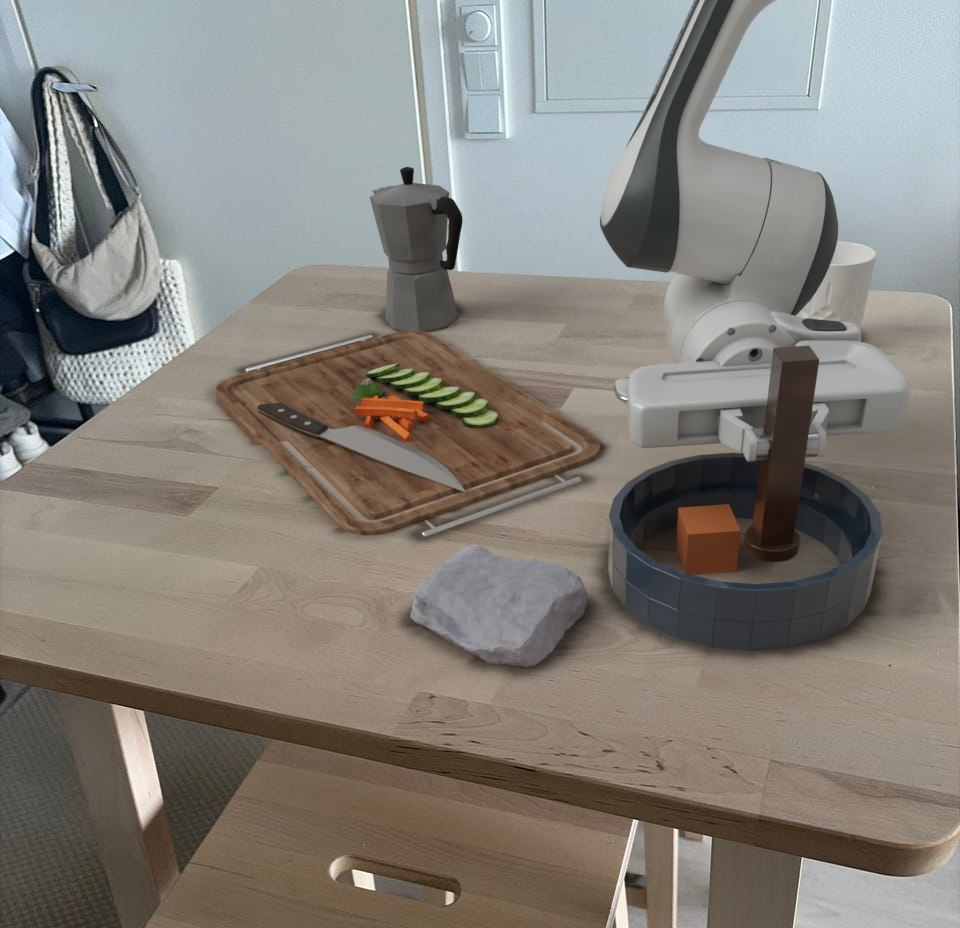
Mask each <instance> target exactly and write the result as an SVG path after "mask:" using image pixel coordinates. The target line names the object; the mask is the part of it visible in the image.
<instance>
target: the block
mask: <svg viewBox="0 0 960 928" xmlns="http://www.w3.org/2000/svg"><path fill="white" fill-rule="evenodd" d="M741 531H742V530H741V528H740V525H739V523H738V520H737V518H735V516H734V514H733V512H732V510H731V507H730V505H729V504H724V505H710V506H696V507H682V508H678V523H677V525H676V539H675V540H676V543H675V549H676V553H677V556H678V559H679V561H680V564H681V565H680V566H681V567H682V570H683V571H682V572H683V573H685V574H690V575H694V576H698V575H709V574H710V575H711V574H723V573H724V574H725V573H736V572H737V570H738V560H739V551H740V542H741Z"/></svg>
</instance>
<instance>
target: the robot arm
mask: <svg viewBox="0 0 960 928" xmlns="http://www.w3.org/2000/svg"><path fill="white" fill-rule="evenodd" d="M776 1H777V0H693V3H692V4H691V7H690V9H689V11H688V13H687V14H686V15H687V16H686V17H685V20H684V22H683V24H682V27H681V29H680V31H679V33H678V36H677V38H676V40H675V42H674V45H673V47H672V49H671V51H670V53H669V56H668V58H667V60H666V62H665V64H664V66H663V69H662V72H661V73H660V75H659V77H658V80H657V83H656V84H655V87H654V88H653V91H652V93H651V96H650V97H649V100H648V103H646V106H645V108H644V110H643V113H642V115H641V116H640V119H639V121H638V122H637V125H636V127H635V129H634V131H633V133H632V134H631V136H630V138H629V140H628V142H627V144H626V146H625V148H624V150H623V151H622V153H621V155H620V156H619V158H618V159H617V161H616V163H615V165H614V166H613V169H612V171H611V173H610V175H609V176H608V177H609V178H608V180H607V182H606V185H605V188H604V191H603V195H602V200H601V205H600V217H599V227H600V230H601V232H602V235H603V236H604V238H605V240H606V242H607V244H608V246H609V247H610V248H611V250H612V251H613V253H614V254H615V255H616V257H617V258H618V259H619V261H621V263H622V264H623V265H624V266H625V268H626V267H627V268H631V269H636V270H644V271H650V272H651V271H652V272H658V273H659V272H660V273H665V274H666V273H669V272H670V273H674V274H675V275H674V277H673V278H672V279H671V281H670V283H669V285H668V287H667V289H666V293H665V296H664V302H663V315H662V316H663V327H664V332H665V333H664V334H665V337H666V342H667V344H668V347H669V349H670V353H671V354H672V357H673V359H674V361H675V363H661V364H649V365H644V366H641V367H638V368H636V369H634V370H633V371H632V372H631V373H630V374H629V376H628V377H624V378H618V379H617V380H615V381H614V382H615V383H614V385H613V390H614V391H613V392H614V394H615V397H616V400H617V401H618V402H620V403H621V404H623V405H626V432H627V438H628V441H629V442H630V443H631V444H633V445H634V446H637V447H639V448H643V449H657V448H669V447H671V448H672V447H684V446H698V445H700V446H702V445H713V444H714V445H715V444H721V445H723V446H725V447H728V448H730V449H732V450H735V451H737V452H738V453H743V454H744V456H745V458H746V460H747V461H761V460H768V459H769V455H770V453H769V450H770V447H771V439H770V436H769V434H768V432H767V430H766V428H764V424H765V416H766V407H767V398H768V390H769V381H770V373H771V364H772V355H773V348H780V347H795V346H810V347H811V349H812V350H813V351H814V353H815V354H816V355H817V357H818V358H819V366H818V373H817V380H816V387H815V394H814V401H813V408H812V414H811V421H810V428H809V435H808V442H807V449H806V456H805V458H823V457H824V456H825V455H826V448H827V444H828V443H827V441H828V437H833V436H847V435H861V434H862V435H863V434H877V433H879V434H880V433H891V432H895V431H897V430H898V429H899V428H900V426H902V424H903V423H904V421H905V417H906V415H907V410H908V406H909V401H910V392H911V384H910V381H909V379H908V378H907V376H906V375H905V374H904V373H903V371H902V370H901V368H899V367H898V365H897V364H896V363H895V362H894V361H893V360H892V359H891V358H890V357H889V356H888V355H887V354H886V353H884V352H883V351H882V350H881V349H879V348H878V347H876V346H874V345H873V344H870V343H867V342H863V341H862V329H861V327H860V328H859V327H858V326H857V325H856V324H853V323H850V322H840V321H830V320H819V319H808V318H802V317H798V316H796V315H797V314H798V313H799V312H800V311H801V310H802V309H803V308H804V307H805V306H806V305H807V303H808V302H809V301H810V300H811V299H812V297H813V296H814V294H815V293H816V291H817V290H818V288H819V286H820V285H821V283H822V281H823V279H824V277H825V275H826V273H827V271H828V269H829V266H830V263H831V261H832V258H833V255H834V252H835V249H836V245H837V242H838V239H839V220H838V214H837V208H836V207H837V206H836V203H835V199H834V196H833V193H832V190H831V188H830V185H829V183H828V182H827V180H826V179H825V177H824V176H823V174H821V172H819V171H814V170H810V169H807V168H805V167H804V168H803V167H800V166H796V165H792V164H789V163H786V162H782V161H778V160H775V159H772V158H767V157H759V156H755V155H751V154H747V153H744V152H741V151H740V152H739V151H735V150H732V149H729V148H725V147H722V146H717V145H713V144H711V143H707V142H706V141H703V140H702V138H701V137H700V129H701V126H702V124H703V122H704V120H705V119H706V116H707V114H708V113H709V110H710V108H711V105H712V103H713V102H714V100H715V98H716V95H717V94H718V90H719V89H720V87H721V85H722V83H723V81H724V78H725V76H726V74H727V72H728V70H729V68H730V66H731V63H732V61H733V59H734V57H735V55H736V53H737V52H738V49H739V47H740V44H741V43H742V40H743V38H744V36H745V34H746V33H747V31H748V29H749V27H750V26H751V24H752V23H753V22H754V20H755V19H756V18H757V17H758V16H759V15H760V13H761V12H762V11H763V10H765V9H766V8H767V7H768V6H770V5H771V4H773V3H774V2H776Z"/></svg>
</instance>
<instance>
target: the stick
mask: <svg viewBox="0 0 960 928" xmlns="http://www.w3.org/2000/svg"><path fill="white" fill-rule="evenodd" d="M818 366H819V358H818V357H817V355H816V354H815V353H814V351H813V350H812V349H811V347H810V346H795V347H780V348H773V355H772V364H771V373H770V381H769V390H768V398H767V407H766V416H765V424H764V428H766V430H767V432H768V434H769V436H770V439H771V447H770V450H769V453H770V455H769V459H768V460H761V461H760V467H759V476H758V484H757V493H756V502H755V510H754V519H752V525H750V526H749V527H748V528H747V529H745V531H744V533H743V541H742V542H743V543H742V547H743V550H744V552H745V553H746V554H748V556H750V557H751V558H753V559H756V560H758V561H761V562H767V563H781V562H787V561H789V560H792V559H793V558H795V557H796V556H797V555H798V553H799V551H800V547H801V545H800V544H801V535H800V534H799V532H798V530H795V524H796V517H797V511H798V504H799V497H800V490H801V483H802V476H803V469H804V463H806V457H805V456H806V449H807V442H808V435H809V428H810V421H811V414H812V408H813V401H814V394H815V387H816V380H817V373H818Z"/></svg>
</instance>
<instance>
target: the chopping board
mask: <svg viewBox="0 0 960 928" xmlns="http://www.w3.org/2000/svg"><path fill="white" fill-rule="evenodd" d="M214 394H215V398H216V402H217V404H218V406H219V407H220V408H221V409H222V410H223V412H225V414H226V415H227V416H228V418H230V419H231V421H233V423H235V424H236V426H237V427H238V428H239V429H241V430H242V432H243V433H244V434H245V435H246V436H247V437H248V438H249V439H250V440H251V442H253V443H254V444H259V445H260V446H262V447H263V448H264V449H265V450H266V451H267V452H268V453H269V454H270V455H271V457H273V458H274V460H275V461H276V462H277V463H278V464H279V465H280V466H281V467H282V469H284V470H285V471H286V472H287V473H288V474H289V475H290V476H291V478H292V479H293V480H294V481H295V482H296V483H297V484H298V485H299V486H300V487H301V488H302V489H303V490H304V491H305V492H306V494H307V495H309V497H310V498H312V499H313V501H314V502H315V503H316V504H317V505H318V506H319V507H320V508H321V509H322V510H323V511H324V512H325V514H327V515H328V517H330V519H332V520H333V522H334V523H335V524H336V525H337V526H338V527H339V528H341V529H342V530H343V531H346V532H347V533H350V534H354V535H358V536H377V535H381V534H387V533H391V532H394V531H396V530H400V529H403V528H405V527H408V526H411V525H414V524H416V523H420V522H424V523H425V524H426V525H427V526H428V527H429V529H427V530H424V531H421V533H420V534H421V535H422V536H423V537H424V538H425V537H428V536H431V535H434V534H436V533H440V532H442V531H446V530H448V529H451V528H453V527H456V526H460V525H462V524H465V523H468V522H471V521H473V520H476V519H478V518H482V517H485V516H488V515H491V514H493V513H495V512H498V511H501V510H504V509H507V508H509V507H513V506H516V505H518V504H521V503H524V502H527V501H529V500H532V499H536V498H538V497H540V496H543V495H546V494H549V493H552V492H554V491H558V490H561V489H563V488H567V487H570V486H572V485H575V484H577V483H580V482H582V481H583V480H582V478H581V477H580V476H576V477H572V478H570V479H568V480H567V479H565V478H563V477H562V476H560V475H559V474H560V473H563V472H565V471H568V470H572V469H575V468H577V467H580V466H583V465H586V464H588V463H590V462H592V461H594V460H595V459H597V457H599V455H600V454H601V441H600V440H599V439H598V438H597V437H596V435H594V434H593V433H591V432H589V431H587V430H586V429H584V428H583V427H581V426H580V425H578V424H576V423H574V422H573V421H571V420H570V419H568V418H567V417H565V416H564V415H562V414H561V413H558V412H557V411H556V410H554V409H552V408H551V407H549V406H547V405H546V404H544V403H542V402H541V401H539V400H538V399H536V398H535V397H533V396H531V395H530V394H528V393H527V392H525V391H524V390H521V389H520V388H518V387H517V386H515V385H514V384H512V383H510V382H509V381H508V380H506V379H505V378H503V377H501V376H499V375H498V374H496V373H494V372H493V371H492V370H490V369H488V368H487V367H485V366H484V365H481V364H480V363H479V362H477V361H475V360H473V359H472V358H471V357H469V356H467V355H466V354H464V353H462V352H461V351H459V350H458V349H457V348H454V347H453V346H451V345H450V344H448V343H446V342H445V341H444V340H442V339H440V338H438V337H437V336H435V335H434V334H432V333H430V332H425V331H417V330H410V331H396V332H392V333H388V334H383V335H380V336H377V337H374V336H373V334H368V335H364V336H360V337H356V338H353V339H348V340H345V341H342V342H338V343H333V344H330V345H326V346H323V347H319V348H315V349H312V350H311V349H310V350H308V351H304V352H301V353H296V354H294V355H293V354H292V355H290V356H286V357H283V358H279V359H275V360H271V361H268V362H264V363H260V364H256V365H252V366H249V367H246V368H245V373H241V374H238V375H234V376H230V377H228V378H226V379H223V380H222V381H220V382H219V383H217V385H216V387H214ZM542 423H545V424H547V425H548V426H550V427H551V428H553V429H554V430H556V431H557V432H559V433H560V434H562V435H564V436H565V437H567V438H568V439H569V440H571V441H573V442H574V443H576V444H578V445H579V446H580V447H581V449H582V450H581V451H579V452H577V453H575V452H576V447H574V446H573V444H572V443H571V442H570V441H569V440H566V439H565V438H564V437H562V436H561V435H559V434H557V433H556V432H554V431H552V429H550V428H548V427H547V426H545V425H544V424H542ZM281 442H287V443H289V445H291V446H292V447H293V448H294V449H295V450H296V451H297V452H298V453H299V454H300V456H302V458H304V459H305V460H306V461H307V462H308V463H309V464H310V466H312V468H314V469H315V470H316V471H317V472H318V473H319V474H320V475H321V476H322V477H323V478H324V479H325V480H326V481H327V482H328V483H329V484H330V485H331V486H332V487H333V488H334V489H335V490H336V491H337V492H338V493H339V494H340V495H341V496H342V497H343V499H345V500H346V501H347V502H348V503H349V504H350V505H351V506H352V507H353V508H354V509H355V510H356V511H357V512H358V513H359V514H360V515H361V516H362V517H363V518H365V519H366V520H368V521H367V522H366V521H361V520H359V519H357V518H355V517H353V516H352V515H351V514H350V513H349V512H348V511H347V510H346V508H345V507H343V506H342V505H341V504H340V502H339V501H338V500H336V498H334V497H333V495H332V494H331V493H330V492H329V491H328V490H327V489H326V488H325V487H323V486H322V484H321V483H320V482H319V481H318V480H317V479H316V478H315V477H313V475H312V474H311V473H310V472H309V471H308V470H307V469H306V468H305V467H304V466H303V465H302V464H301V463H300V462H299V461H298V460H297V459H296V458H295V457H294V456H293V455H292V454H291V453H290V452H289V451H288V449H286V448H285V447H284V446H283V445H282V444H281ZM574 453H575V454H574ZM551 476H553V477H554V478H556V479H557V480H559V481H560V482H559V483H556V484H554V485H551V486H548V487H545V488H542V489H538V490H536V491H534V492H530V493H528V494H526V495H522V496H519V497H517V498H514V499H511V500H508V501H505V502H502V503H500V504H496V505H494V506H491V507H489V508H486V509H483V510H480V511H477V512H474V513H472V514H468V515H466V516H463V517H461V518H457V519H455V520H452V521H449V522H445V523H443V524H441V525H438V526H436V525H435V524H433V523H432V522H431V521H430V520H429V519H431V518H434V517H437V516H440V515H443V514H445V513H449V512H451V511H454V510H457V509H459V508H462V507H465V506H468V505H471V504H474V503H477V502H479V501H483V500H485V499H488V498H491V497H494V496H497V495H500V494H503V493H505V492H509V491H511V490H515V489H517V488H521V487H523V486H525V485H529V484H532V483H535V482H537V481H541V480H544V479H546V478H548V477H551ZM499 479H500V480H499ZM496 480H497V481H496ZM446 497H447V498H446ZM443 498H444V499H443ZM435 501H436V502H435ZM426 504H427V505H426ZM423 505H424V506H423ZM420 506H421V507H420ZM417 507H418V508H417ZM415 508H416V509H415ZM411 509H412V510H411ZM408 510H410V511H408ZM405 511H407V512H405ZM402 512H404V513H402ZM400 513H401V514H400ZM397 514H398V515H397ZM393 515H395V516H393ZM387 517H389V518H387ZM382 519H383V520H382Z"/></svg>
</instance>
